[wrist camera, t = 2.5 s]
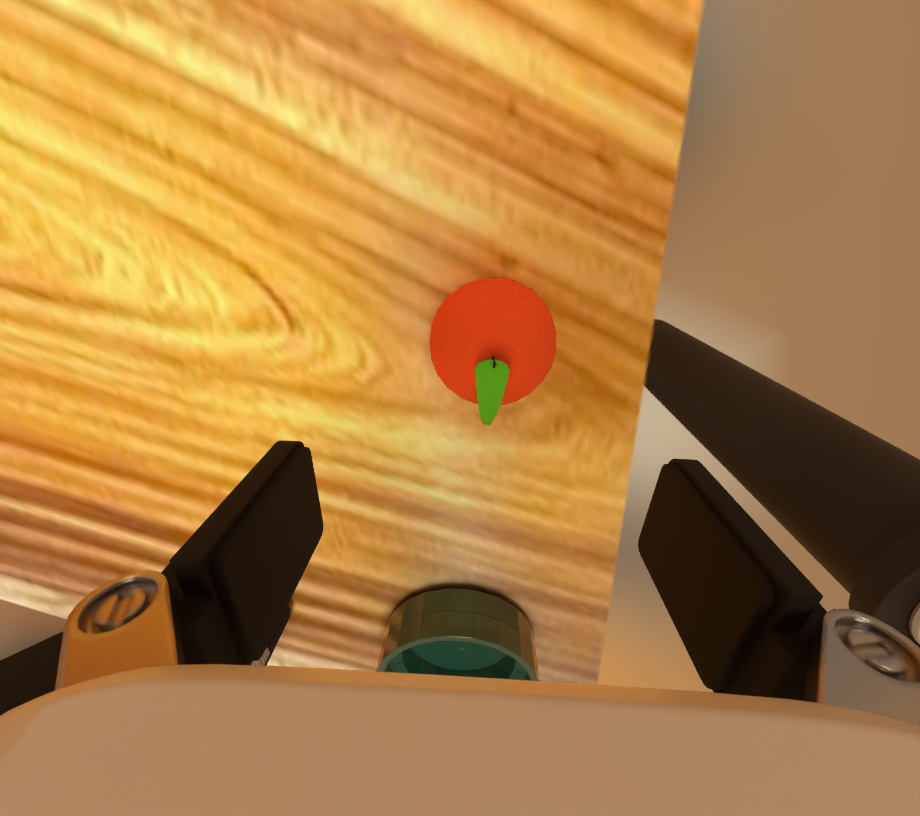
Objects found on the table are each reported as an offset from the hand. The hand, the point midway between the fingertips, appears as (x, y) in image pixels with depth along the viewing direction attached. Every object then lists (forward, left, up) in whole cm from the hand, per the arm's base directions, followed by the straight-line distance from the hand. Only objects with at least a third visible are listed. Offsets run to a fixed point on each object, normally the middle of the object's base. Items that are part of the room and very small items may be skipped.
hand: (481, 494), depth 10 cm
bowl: (0, +30, -16) cm, 34 cm away
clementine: (-1, 0, -16) cm, 16 cm away
